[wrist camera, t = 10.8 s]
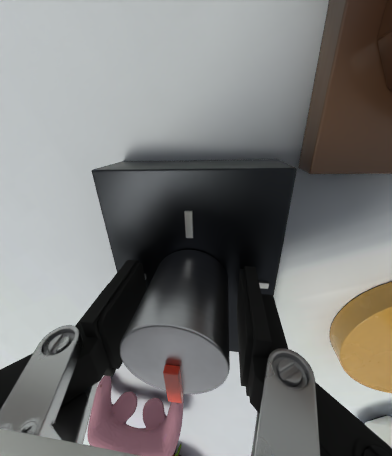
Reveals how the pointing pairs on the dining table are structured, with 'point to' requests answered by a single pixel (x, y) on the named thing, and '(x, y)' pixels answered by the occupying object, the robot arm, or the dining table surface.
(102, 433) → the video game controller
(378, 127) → the switch block
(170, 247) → the dimmer panel
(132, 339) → the dimmer knob
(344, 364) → the desk lamp
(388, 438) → the geometric ball
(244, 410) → the dining table surface
